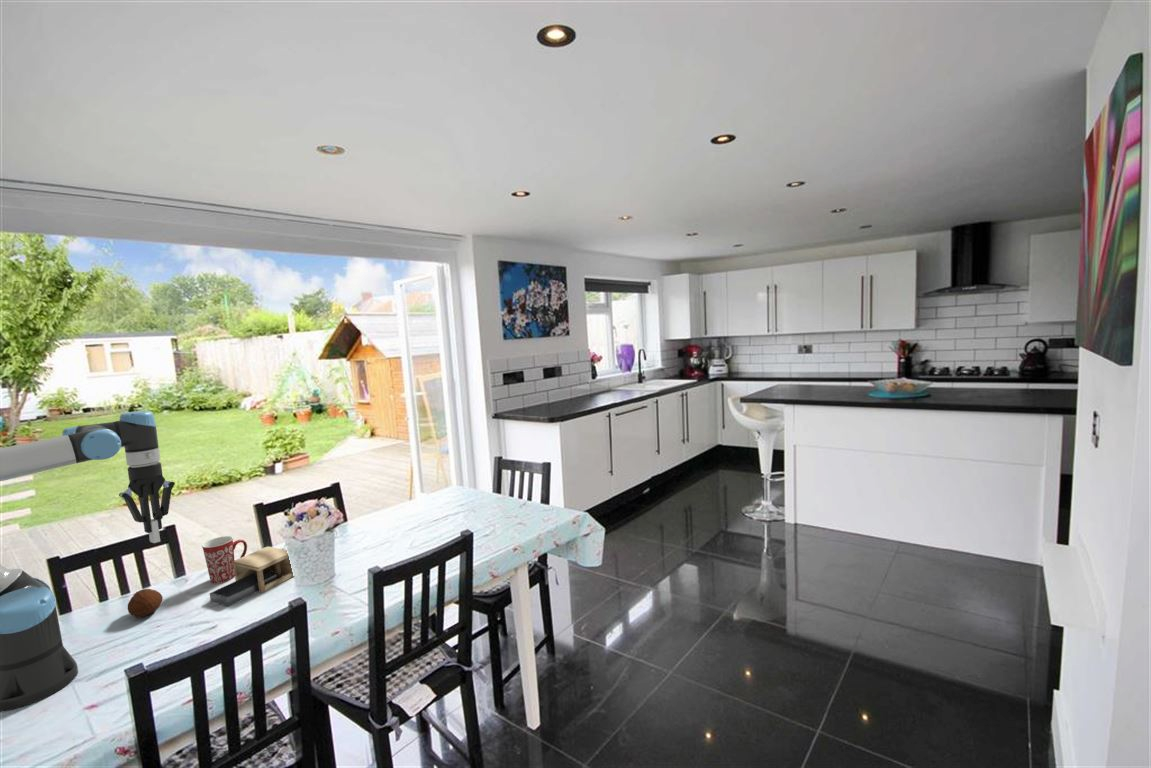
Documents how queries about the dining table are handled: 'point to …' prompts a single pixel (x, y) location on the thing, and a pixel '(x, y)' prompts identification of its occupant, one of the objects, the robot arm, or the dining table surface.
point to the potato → (144, 602)
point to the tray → (240, 589)
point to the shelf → (264, 566)
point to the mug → (221, 557)
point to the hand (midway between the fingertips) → (155, 541)
